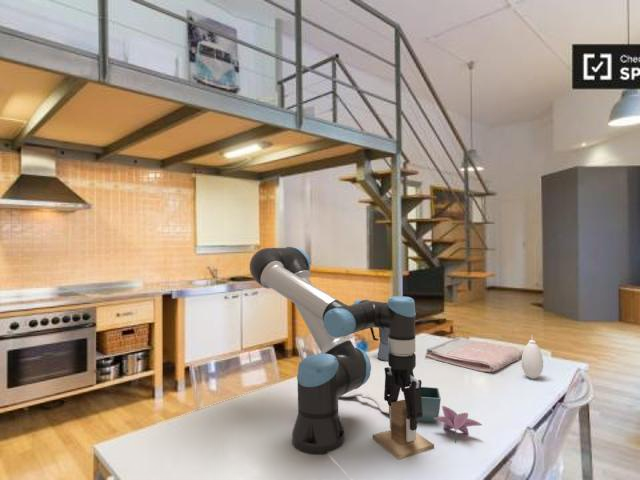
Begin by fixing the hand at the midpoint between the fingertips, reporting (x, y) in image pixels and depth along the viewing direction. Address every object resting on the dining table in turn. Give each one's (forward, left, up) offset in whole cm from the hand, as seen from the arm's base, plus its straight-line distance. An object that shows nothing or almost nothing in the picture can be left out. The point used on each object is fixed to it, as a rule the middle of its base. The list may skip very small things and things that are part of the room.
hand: (402, 434), depth 110 cm
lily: (+16, -4, -3) cm, 17 cm away
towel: (+81, +49, -4) cm, 95 cm away
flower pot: (+16, +9, -3) cm, 19 cm away
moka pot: (+42, +67, -3) cm, 79 cm away
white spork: (+5, +29, -4) cm, 30 cm away
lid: (0, 0, -3) cm, 3 cm away
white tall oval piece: (+80, +18, -3) cm, 82 cm away
